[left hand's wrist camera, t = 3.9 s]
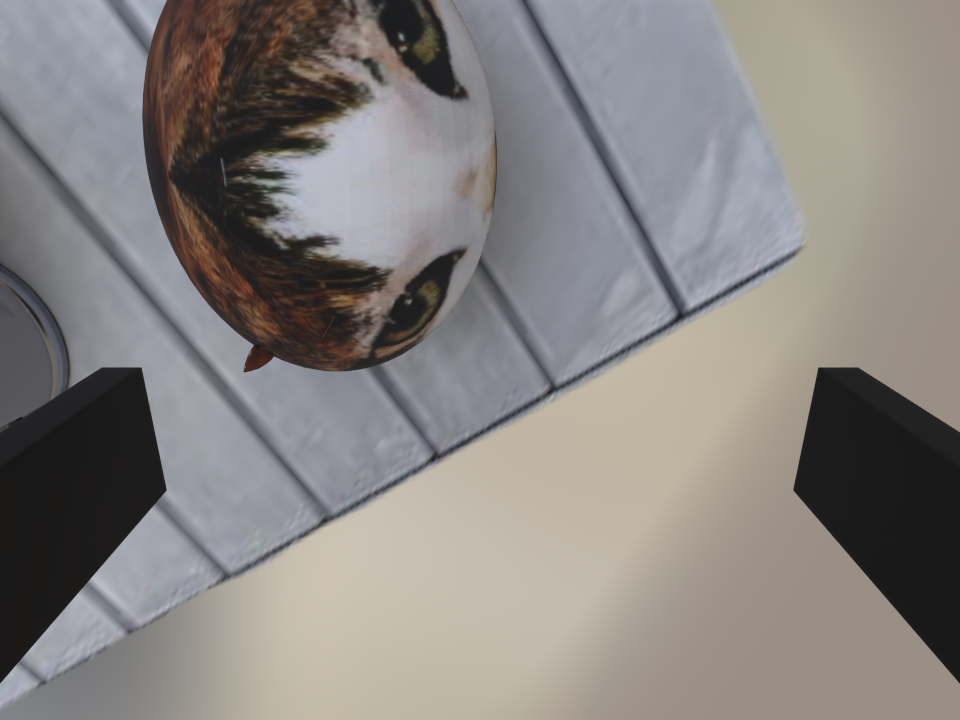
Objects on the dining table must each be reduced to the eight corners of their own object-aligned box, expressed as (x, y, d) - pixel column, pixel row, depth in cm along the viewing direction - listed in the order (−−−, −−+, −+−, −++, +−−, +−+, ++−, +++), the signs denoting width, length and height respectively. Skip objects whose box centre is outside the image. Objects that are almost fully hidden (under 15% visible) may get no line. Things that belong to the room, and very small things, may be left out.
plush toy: (575, 347, 40) (316, 476, 25) (386, 293, 50) (126, 363, 36) (610, -66, 31) (252, -222, 17) (374, -28, 42) (28, -104, 27)
